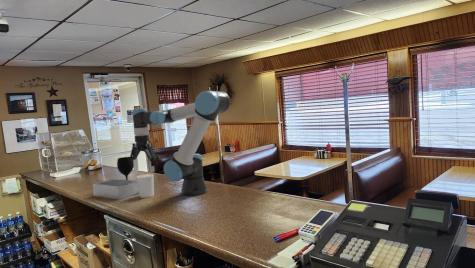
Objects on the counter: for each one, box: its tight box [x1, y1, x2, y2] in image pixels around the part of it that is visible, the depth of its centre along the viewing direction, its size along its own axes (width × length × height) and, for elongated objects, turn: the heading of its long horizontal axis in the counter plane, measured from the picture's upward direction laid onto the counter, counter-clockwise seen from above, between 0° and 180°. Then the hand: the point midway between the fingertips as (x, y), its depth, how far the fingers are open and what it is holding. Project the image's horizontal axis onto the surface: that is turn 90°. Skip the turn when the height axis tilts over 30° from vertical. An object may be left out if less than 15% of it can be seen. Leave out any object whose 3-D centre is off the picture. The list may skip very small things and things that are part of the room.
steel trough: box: [92, 178, 139, 201], centre depth 198 cm, size 24×15×8 cm, turn 57°
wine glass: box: [116, 156, 134, 180], centre depth 217 cm, size 10×10×20 cm
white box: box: [135, 173, 155, 199], centre depth 191 cm, size 10×10×12 cm
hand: (144, 171), depth 191 cm, fingers open, 13 cm apart
